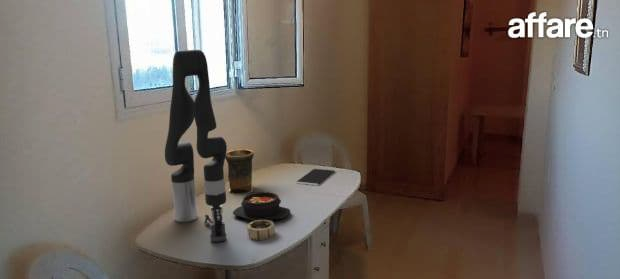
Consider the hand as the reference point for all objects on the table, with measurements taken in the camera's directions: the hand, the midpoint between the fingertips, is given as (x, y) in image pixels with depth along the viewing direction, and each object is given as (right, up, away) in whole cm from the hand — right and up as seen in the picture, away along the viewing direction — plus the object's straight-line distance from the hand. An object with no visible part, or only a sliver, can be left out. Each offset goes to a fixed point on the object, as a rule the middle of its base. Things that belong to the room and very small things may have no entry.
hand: (218, 234), depth 164 cm
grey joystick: (0, -2, 0) cm, 2 cm away
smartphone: (+38, +14, +76) cm, 86 cm away
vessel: (0, +10, +58) cm, 59 cm away
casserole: (+14, +3, +23) cm, 27 cm away
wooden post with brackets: (-6, 0, +13) cm, 14 cm away
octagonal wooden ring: (+16, -1, +4) cm, 16 cm away
